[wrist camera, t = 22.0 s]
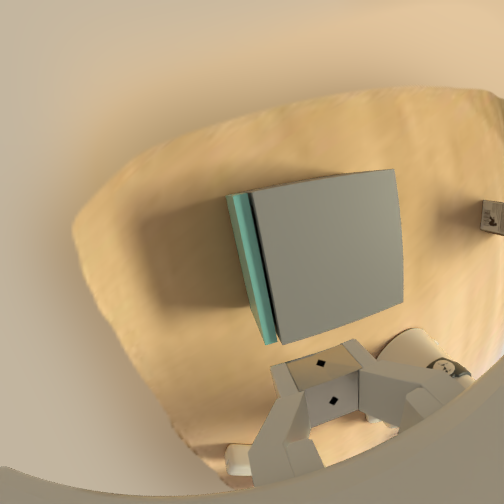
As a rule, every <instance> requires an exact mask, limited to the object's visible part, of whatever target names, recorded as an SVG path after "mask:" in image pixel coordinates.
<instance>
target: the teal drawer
mask: <svg viewBox="0 0 504 504" xmlns="http://www.w3.org/2000/svg"><path fill="white" fill-rule="evenodd" d="M226 201H227V205H228V210H229V214H230V219H231V223H232V228H233V233H234V237H235V242H236V246H237V251H238V255H239V259H240V264H241V268H242V273H243V277H244V282H245V286H246V290H247V295H248V299H249V303H250V308H251V311H252V313H253V316H254V318H255V321H256V323H257V326H258V328H259V331H260V333H261V336H262V338H263V341H264V343H265V345H268V344H272V343H275V342H277V337H276V332H275V327H274V322H273V317H272V312H271V307H270V304H272V299H271V294H270V289H269V283H268V278H267V273H266V268H265V263H264V258H263V253H262V249H261V244H260V239H259V234H258V229H257V224H256V219H255V214H254V209H253V206H250V204H249V199H248V194H247V193H235V194H230V195H226Z"/></svg>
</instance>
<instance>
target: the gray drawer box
mask: <svg viewBox="0 0 504 504" xmlns="http://www.w3.org/2000/svg"><path fill="white" fill-rule="evenodd" d="M239 193H247V194H248V199H249V204H250V206H253V209H254V214H255V219H256V224H257V229H258V234H259V239H260V244H261V249H262V253H263V258H264V263H265V268H266V273H267V278H268V283H269V289H270V294H271V299H272V304H270V307H271V312H272V317H273V322H274V327H275V332H276V333H277V335H278V337H279V339H280V341H281V343H282V345H285V344H288V343H292V342H295V341H298V340H302V339H305V338H308V337H311V336H314V335H317V334H320V333H323V332H326V331H329V330H332V329H335V328H338V327H341V326H344V325H346V324H349V323H352V322H355V321H357V320H360V319H362V318H365V317H368V316H370V315H373V314H375V313H378V312H380V311H383V310H385V309H388V308H390V307H392V306H395V305H397V304H400V303H402V302H403V246H402V230H401V218H400V208H399V199H398V191H397V184H396V177H395V171H394V169H388V170H376V171H365V172H354V173H345V174H338V175H331V176H325V177H319V178H313V179H307V180H301V181H295V182H290V183H284V184H279V185H273V186H268V187H263V188H258V189H253V190H248V191H244V192H239Z"/></svg>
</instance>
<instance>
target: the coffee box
mask: <svg viewBox="0 0 504 504" xmlns="http://www.w3.org/2000/svg"><path fill="white" fill-rule="evenodd" d="M480 229H481V230H483V231H487V232H490V233H494V234H497V235H501V236H504V203H503V202H496V201H488V200H483V210H482V219H481V227H480Z"/></svg>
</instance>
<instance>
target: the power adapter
mask: <svg viewBox="0 0 504 504" xmlns="http://www.w3.org/2000/svg"><path fill="white" fill-rule="evenodd" d="M251 446H252V445H244V444H230V445H228V447H227V449H226V452H225V464H226V470H227V473H228V474H229V475H236V476H252V474H251V468H250V463H249V458H248V451H249V449H250V447H251Z"/></svg>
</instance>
